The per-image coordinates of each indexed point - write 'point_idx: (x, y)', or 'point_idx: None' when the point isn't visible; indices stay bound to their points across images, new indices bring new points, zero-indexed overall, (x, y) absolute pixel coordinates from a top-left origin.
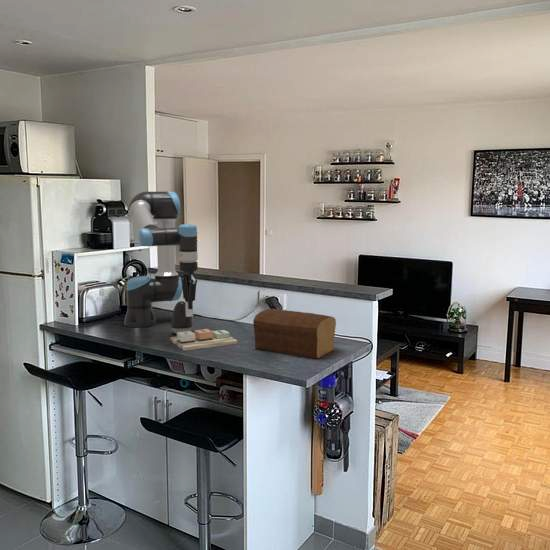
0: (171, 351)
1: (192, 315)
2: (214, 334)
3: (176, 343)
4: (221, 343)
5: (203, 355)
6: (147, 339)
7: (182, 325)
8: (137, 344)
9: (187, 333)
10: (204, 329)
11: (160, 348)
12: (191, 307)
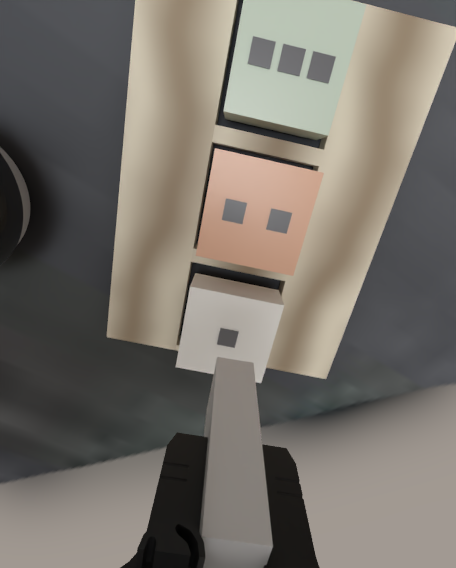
0: (287, 408)
1: (252, 372)
2: (278, 125)
3: None
4: (403, 168)
5: (452, 345)
6: (28, 390)
7: (5, 241)
8: (93, 452)
9: (242, 334)
10: (220, 181)
11: None
12: (294, 482)
